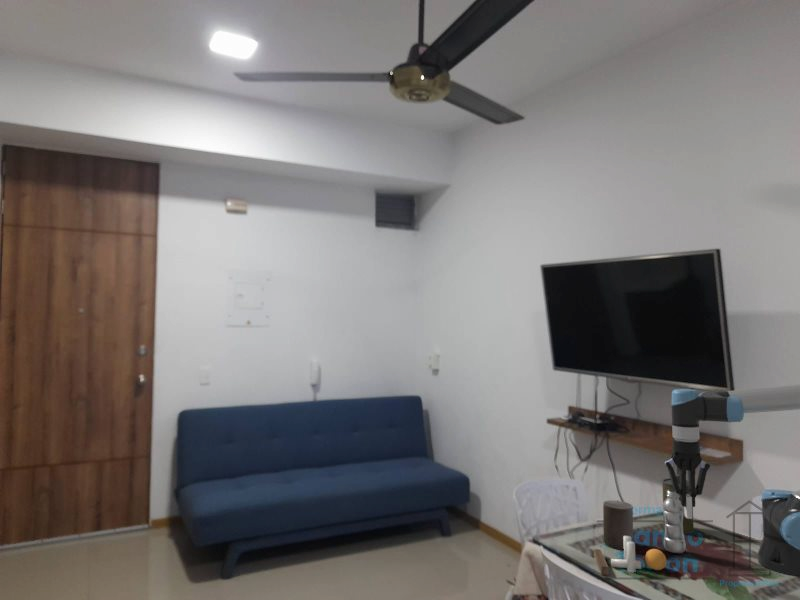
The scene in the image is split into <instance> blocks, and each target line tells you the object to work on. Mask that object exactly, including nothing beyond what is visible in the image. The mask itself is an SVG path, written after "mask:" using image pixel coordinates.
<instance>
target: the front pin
mask: <svg viewBox="0 0 800 600" xmlns="http://www.w3.org/2000/svg"><path fill="white" fill-rule="evenodd" d="M635 562H636V570H642V562H641V560H637V559H635ZM610 566H611V568H619V569H627V560H624V558H623V559H620V558H610Z"/></svg>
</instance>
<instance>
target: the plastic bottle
mask: <svg viewBox="0 0 800 600" xmlns="http://www.w3.org/2000/svg"><path fill="white" fill-rule="evenodd" d="M666 496H667V499H666V500H665V501H664V503H663V502H662V512H663V513H664V515H663V521H664V520H665V529H664V537H663V547H664V548H665V550H666V551H668V552H670V553H672V554H684V552H685V551H686V546H687V545H686V540H685V534H684V533H683V515H684V507H683V506H682V505H681V501H680V500H679V494H677V493H676V492H675V491H674V490H667V494H666Z"/></svg>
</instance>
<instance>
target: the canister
mask: <svg viewBox="0 0 800 600" xmlns="http://www.w3.org/2000/svg"><path fill="white" fill-rule="evenodd" d="M675 475H676V479H677V482H678V486H679V489H680V477H679V473H675ZM661 483H662V504H663V503H664V501H665V500H666V499H667V496H666V494H667V490H674V489H673V486H672V482H671V479H670V477H669V478H662V480H661ZM686 494H687V495H689V481H688V479H686ZM679 500H680V501H681V496H680V494H679ZM663 516H664V513H663ZM662 527H663V529H664V530H665V520H664V519H663V526H662ZM694 528H695V527H694V507H692V519H687V518H686V517H685V515H683V533H684V535H688V534H689V535H690V534H692V533H693V534H694V532H695V529H694Z"/></svg>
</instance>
